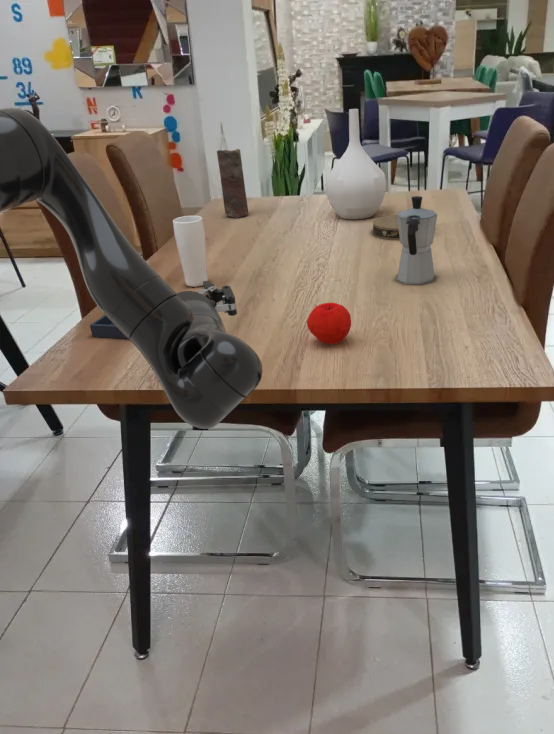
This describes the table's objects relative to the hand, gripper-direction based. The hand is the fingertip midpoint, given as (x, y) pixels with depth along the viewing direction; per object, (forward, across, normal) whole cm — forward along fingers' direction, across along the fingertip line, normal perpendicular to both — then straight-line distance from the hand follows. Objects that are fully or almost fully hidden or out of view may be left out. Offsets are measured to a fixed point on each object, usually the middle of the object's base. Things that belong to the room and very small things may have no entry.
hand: (177, 291), depth 102 cm
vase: (+102, -65, +18) cm, 123 cm away
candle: (+123, -32, +18) cm, 128 cm away
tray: (+38, +5, +18) cm, 43 cm away
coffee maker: (+38, -56, +18) cm, 70 cm away
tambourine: (+78, -70, +18) cm, 106 cm away
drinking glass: (+59, -9, +18) cm, 62 cm away
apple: (+13, -27, +18) cm, 35 cm away
